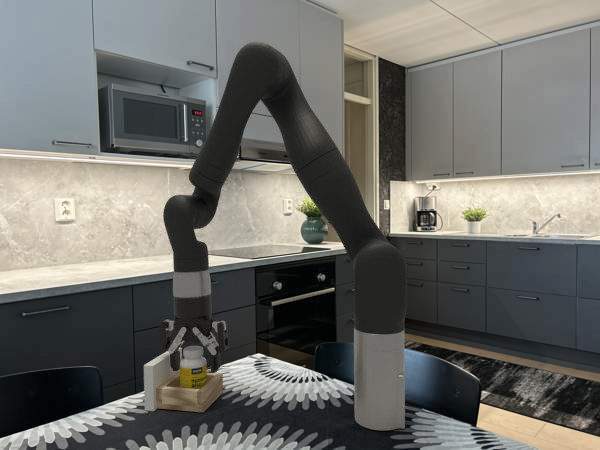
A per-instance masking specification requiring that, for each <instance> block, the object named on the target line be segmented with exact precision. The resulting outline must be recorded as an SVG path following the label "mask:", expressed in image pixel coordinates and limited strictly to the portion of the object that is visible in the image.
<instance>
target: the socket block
mask: <svg viewBox="0 0 600 450" xmlns="http://www.w3.org/2000/svg"><path fill="white" fill-rule="evenodd" d="M223 376H224V375H223V373H218V372H216V373H211V372H207V383H206V384H205V385H204V386H203V387H202V388H201V389H191V388H180V371H179V372H178V373H176V374H175V375H174V376H172V377H171V378H169V379H168V380H167V381H165V382H164V383H163V384H161V385H160V386H159V387H157V388H156V405H157V409H160V410H161V409H163V410H172V411H173V410H174V411H183V412H193V413H194V412H196V413H205V412H206V410H207V409H208V408H210V407H211V406H212V404H213V403H214V402H215V401H216V400H217V399H218V398H219V397H221V395H222V394H223V393H224V377H223Z"/></svg>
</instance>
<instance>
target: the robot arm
mask: <svg viewBox="0 0 600 450" xmlns="http://www.w3.org/2000/svg"><path fill="white" fill-rule="evenodd" d="M301 88H302V87H301V86H300V84H299V82H298V80H297V76H296V75H295V73H294V70H293V68H292V66H291V64H290V61H289V60H288V59H287V57H286V56H285V54H284V53H282V52H281V51H279V50H278V49H276V48H275V47H273V46H272V45H270V44H269V43H266V42H264V41H258V40H257V41H256V40H255V41H251V42H248V43H247V44H245V45H243V46H242V47H241V48H240V49H239V50H238V52H237V54H236V55H235V58H234V59H233V62H232V65H231V68H230V71H229V75H228V78H227V81H226V84H225V88H224V90H223V91H224V92H223V94H222V97H221V99H220V102H219V106H218V109H217V111H216V114H215V117H214V120H213V122H212V125H211V127H210V130H209V131H208V133H207V136H206V139H204V143H203V145H202V146H201V148H200V151H199V152H198V155H197V157H196V158H195V160H194V163H192V164H193V165H192V166H191V169H190V171H189V174H188V179H189V182H190V183H191V185H192V186H193V187H194V190H193V192H192V194H191V195H190V194H175V195H173V196H171V197H170V198H168V200H167V201H166V203H165V205H164V208H163V211H162V212H163V215H162V216H163V217H162V218H163V223H164V227H165V230H166V234H167V237H168V241H169V244H170V247H171V250H172V254H173V255H172V256H173V257H172V259H173V260H172V261H173V278H172V293H173V314H174V317H175V318H174V320H171V319H170V318H167V319H165V320H163V321H162V322H161V321H160V326H159V327H160V329H159V332H160V335H159V337H160V338H159V339H160V340H159V342H160V343H159V344H160V345H159V346H160V347H159V348H160V350H161V351H165V352H167V351H168V352H169V353H170V366H171V368H173V371H178V370H179V369H180V361H181V359H180V351H178V349H179V348H181V347H182V345H183V344H184V343H187V344H188V343H195V344H200V343H201V344H202V346H203V347H205V348H207V350H208V352H210V358H209V359H210V373H218V371H219V369H221V366H222V364H221V363H222V362H221V353H224V352H225V351H227V349H229V348H230V342H229V341H230V340H229V331H228V330H229V329H228V321H227V320H226V319H223V320H221V321H214V320H213V317H212V313H213V310H212V309H213V307H212V284H211V283H212V282H211V274H210V262H209V261H210V260H209V249H208V245H207V244H206V243H205V242H204V241H200V240H198V239H197V236H196V235H197V234H196V231H195V230H198V229H203V228H206V227H207V226H208V225H209V224H210V223H211V222H212V221H213V219H214V218H215V216H216V213H217V211H218V205H219V202H220V198H221V193H222V189H223V186H224V185H225V182H226V181H227V179H228V177H229V175H230V174H231V172H232V169H233V167H234V166H235V163H236V161H237V160H238V159H237V158H238V157H239V153H240V149H241V144H242V140H243V136H244V133H245V130H246V126H247V123H248V122H249V119H250V117H251V115H252V113H253V111H254V110H255V108H256V107H257V105H258V104H259V102H260V101H261V103H263V105H264V107H265V108H266V109H267V111H268V112H269V114H270V116H271V117H272V118H273V120H274V121H275V124H276V125H277V127H278V129H279V132H280V134H281V138H282V140H283V145H284V148H285V153H286V155H287V158H288V161H289V163H290V166H291V167H292V170H293V172H294V173H295V175H296V177H297V178H298V181H299V182H300V184H301V186H302V187H303V189H304V191H305V192H306V193H307V195H308V197H309V198H310V199H311V201H312V202H313V204H314V205H315V207H316V208H317V209H318V211H319V212H320V213H321V214H322V215H323V217H324V219H326V220H327V222H328V223H329V224H330V225H331V227H332V228H333V229H334V231H335V233H336V234H337V236H338V238H339V240H340V242H341V243H342V246H343V248H344V250H345V252H346V254H347V256H348V259H349V262H350V263H351V266H352V269H353V273H354V274H353V279H354V282H353V283H354V284H353V285H354V287H353V289H354V292H353V293H354V295H353V297H354V300H353V301H354V306H353V308H354V311H353V357H354V358H353V361H354V363H353V370H354V371H353V375H354V380H353V381H354V382H353V384H354V385H353V386H354V389H353V390H354V392H353V393H354V394H353V395H354V396H353V397H354V405H353V409H354V420H355V422H356V424H358V425H359V426H361V427H363V428H366V429H370V430H373V431H394V430H396V429H403V430H404V429H405V428H406V403H405V402H406V391H405V390H406V379H405V378H406V374H405V372H406V371H405V370H406V369H405V366H406V365H405V324H406V323H405V320H406V315H407V302H408V300H407V296H408V294H407V293H408V290H407V289H408V272H407V271H408V269H407V263H406V259H405V257H404V255H403V254H402V252H401V251H400V250H399V249H397V247H395V246H394V245H393V244H391V242H390V241H389V240H388V238H387V237H386V236H385V235H384V233H383V232H382V231H381V229H380V227H379V226H378V225H377V224H376V222H375V221H374V219H373V217H372V216H371V214H370V212H369V211H368V208H367V206H366V203H365V200H364V199H363V196H362V194H361V191H360V188H359V186H358V183H357V181H356V179H355V177H354V174H353V173H352V171H351V168H350V166H349V165H348V163H347V162H346V161H347V160H345V157H344V156H343V155H342V153H341V151H340V149H339V148H338V146H337V145H336V143H335V141H334V140H333V138H332V137H331V135H330V134H329V133H328V131H327V129H326V127H325V126H324V125H323V123H322V122H321V121H320V119H319V117H317V115H316V114H315V112H314V111H313V109H312V108H311V106H310V104H309V102H308V100H307V99H306V97H305V95H304V93H303V90H302V89H301ZM213 329H214V330H215V332H216V333H217V339H216V337H215V335H214V334H213V333H212V330H213ZM173 330H175V331H176V333H177V335H176V336H175V337H174V339H173V341H172V331H173ZM217 340H218V341H217Z"/></svg>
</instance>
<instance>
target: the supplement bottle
mask: <svg viewBox="0 0 600 450" xmlns="http://www.w3.org/2000/svg"><path fill="white" fill-rule="evenodd" d="M182 349H183V350H182V360H181V361H180V388H191V389H201V388H202V387H203V386H204V385H205V384H206V383H207V373H208V370H207V369H208V368H207V366H208V364H207V363H208V362H207V359H206V357H204V346H200V345H189V346H186V347H184V348H182ZM183 357H184V358H183Z"/></svg>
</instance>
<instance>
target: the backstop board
mask: <svg viewBox="0 0 600 450" xmlns="http://www.w3.org/2000/svg"><path fill="white" fill-rule="evenodd" d="M182 349H183V348H182V347H180V348H179V349H178V351H180V359H181V360H182V359H183V350H182ZM179 371H180V369H179V370H178V371H173V368H171V366H170V353H169V352H168V351H165V352H163V353H161V354H159V356H158V355H157V356H156V357H155V358H153V359H152V360H150V361H149V362H147V363H145V364H144V365H143V384H144V385H143V391H144V392H143V393H144V394H143V395H144V397H143V399H144V411H148V412H155V411H156V410H157V409H158V408H157V405H156V388H157V387H159V386H160V385H161V384H163V383H164V382H165V381H167V380H168V379H169V378H171V377H172V376H174V375H175V374H176V373H178V372H179Z"/></svg>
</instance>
